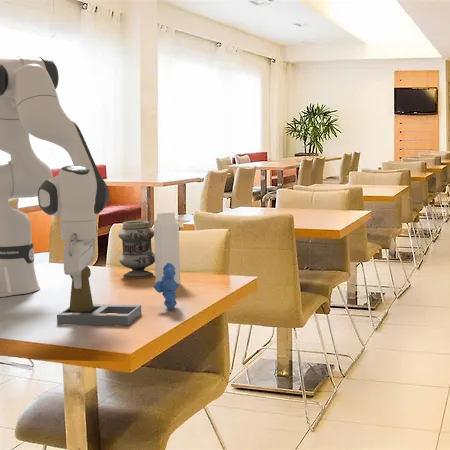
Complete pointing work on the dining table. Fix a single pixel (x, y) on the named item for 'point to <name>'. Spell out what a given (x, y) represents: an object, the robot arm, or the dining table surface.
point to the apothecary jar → (137, 248)
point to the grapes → (168, 286)
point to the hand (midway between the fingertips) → (80, 285)
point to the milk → (166, 244)
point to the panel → (101, 315)
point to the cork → (81, 294)
